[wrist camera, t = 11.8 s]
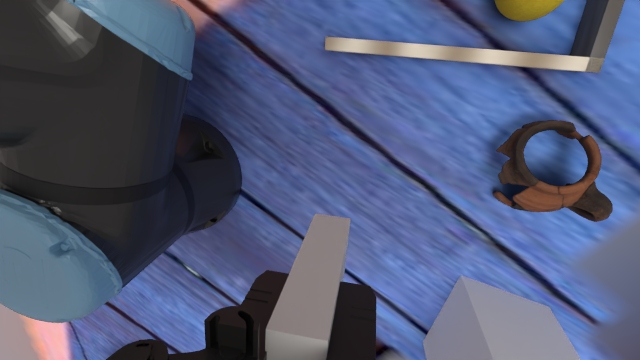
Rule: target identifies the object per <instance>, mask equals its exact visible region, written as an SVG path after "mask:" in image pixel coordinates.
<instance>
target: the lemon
mask: <svg viewBox="0 0 640 360" xmlns="http://www.w3.org/2000/svg"><path fill="white" fill-rule="evenodd" d="M563 1H564V0H495V3H496V7H497V8H498V10H499V11H500V13H502V14H503V15H504V16H505V17H507V18H509V19H511V20H514V21H530V20H535V19H538V18H540V17H543V16H545V15H547V14H548V13H550V12H551V11H553V10H554V9H556V8H557V7H558V6H559V5H560V4H561V3H562V2H563Z"/></svg>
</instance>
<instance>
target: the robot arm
mask: <svg viewBox="0 0 640 360" xmlns="http://www.w3.org/2000/svg"><path fill="white" fill-rule="evenodd" d="M194 43H195V27H194V24H193V21H192V19H191V17H190V16H189V14H188V13H187V12H186V11H185V10H184V9H183V8H182V7H181V6H179V5H178V4H176V3H174V2H172V1H170V0H0V303H1V304H2V305H4V306H6V307H8V308H9V309H11V310H13V311H15V312H17V313H19V314H21V315H24V316H26V317H29V318H32V319H36V320H40V321H45V322H52V323H63V322H69V321H73V320H76V319H81V318H83V317H85V316H87V315H89V314H90V313H92V312H93V311H95V310H96V309H98V308H99V307H100V306H102V305H103V304H105V303H106V302H107V301H109V300H110V299H112V298H114V297H116V296H117V295H118V294H119V293H120V291H121V290H122V288H123V287H124V286H125V285H127V284H128V283H129V282H130V281H131V280H132V279H133V278H135V277H136V276H137V275H138V274H139V273H140V272H141V271H142V270H144V269H145V268H146V267H147V266H148V265H149V264H150V263H152V262H153V261H154V260H155V259H156V258H157V257H158V256H159V255H161V254H162V253H163V252H164V251H165V250H166V249H167V248H168V247H170V246H171V245H172V244H173V243H174V242H175V241H176V240H177V239H179V238H180V237H181V236H182V235H186V234H189V233H192V232H196V231H199V230H203V229H206V228H208V227H210V226H212V225H214V224H216V223H217V222H219V221H220V220H221V219H222V218H223V217H224V216H225V215H226V214H227V213H228V212H229V211H230V210H231V209H232V208H233V206H234V205H235V203H236V202H237V199H238V197H239V194H240V190H241V181H242V178H241V169H240V165H239V161H238V158H237V156H236V154H235V152H234V150H233V148H232V146H231V145H230V143H229V142H228V141H227V139H226V138H225V137H224V136H223V135H222V134H221V133H220V132H219V131H218V130H217V129H216V128H214V127H213V126H212V125H210V124H209V123H207V122H205V121H203V120H201V119H199V118H196V117H193V116H189V115H183V111H184V106H185V101H186V96H187V92H188V87H189V82H190V80H192V78H193V74H192V72H191V68H192V59H193V50H194ZM350 220H351V219H350V218H343V217H336V216H329V215H322V214H315V215H314V217H313V219H312V222H311V224H310V227H309V229H308V231H307V234H306V236H305V238H304V241H303V243H302V245H301V248H300V250H299V252H298V255H297V257H296V259H295V262H294V264H293V266H292V269H291V271H290V273H289V274H287V273H281V272H275V271H269V270H267V271H265V272H264V273H263V274H261V275H260V276H259V277H257V278H256V280H255V281H254V283H253V285H252V287H251V288H250V291H249V292H248V294H247V295H246V297H245V300H244V301H243V302H242V304H241V306H230V307H226V308H221V309H219V310H217V311H215V312H213V313H211V314H210V315H209V316H208V317H207V319H206V320H205V321H204V322H205V341H206V348H205V349H203V350H200V351H195V352H189V353H177V354H168V350H167V347H166V346H165V345H164V344H163V343H162V342H161V341H157V340H153V339H147V340H139V341H136V342H133V343H130V344H127V345H126V346H124V347H122V348H121V349H119V350H118V351H116V352H115V353H114V354H112V355H111V356H110V357H109V358H107V359H106V360H375V356H376V296H375V294H374V293H373V291H372V289H371V287H370V286H365V285H359V284H353V283H347V282H343V278H344V271H345V262H346V254H347V245H348V237H349V228H350Z"/></svg>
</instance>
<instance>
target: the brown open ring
mask: <svg viewBox="0 0 640 360" xmlns="http://www.w3.org/2000/svg"><path fill="white" fill-rule="evenodd" d="M546 130H557V132H558V133H559V134H560V135H563V136H565V137H567V138H570V139H575V138H576V139H577V140H578V141H579V143H580V144H581V145H582V146H583V148H584V150H585V151H586V154H587V158H588V167H587V170H586V172H585V175H584V176H583V177H582V178H581V179H580V180H579V181H578V182H576V183H574V184H566V185H565V186H555V185H550V184H547V183H545V182H542V181H540V180H538V179H537V178H536V177H535V176H534V175H533V174H532V173H531V172H530V171H529V169H528V168H527V166H526V163H525V160H524V153H523V152H524V148H525V145H526V143H527V142H528V140H529V139H530V138H531V137H532V136H533V135H535V134H537V133H539V132H542V131H546ZM496 151H497V152H501V153H503V154H504V155H507V156H508V157H510V160H508V161H507V162H505V164H504V165H503V167H502V171H501V172H500V173H499V180H500V182H501V184H507V183H511V184H518V185H524V186H528V187H527V188H526V189H525V190H523V191H522V192H520V193H517V194H515V195H514V196H513V200H514V202H516V203H513V202H511V201H510V200H509V199H507V198H506V197H505V196H504V195H503V194H502V193H501V192H499V191H498V192H493V195H494V196H495V197H496V198H497V199H498V200H499V201H501V202H502V203H504V204H506V205H508V206H510V207H512V208H514V209H518V210H524V211H531V212H550V211H556V210H560V209H561V208H564V207H566V208H569V209H570V210H572V211H573V212H575V213H577V214H578V215H580V216H582V217H584V218H586V219H588V220H591V221H594V222H597V221H602V220H604V219H607V218H608V217H609V215H610V214H611V213H612V203H611V201H610V200H609V199H608V198H607V197H606V196H605V195H604V194H602V193H601V192H600V191H599V190H598V189H597V188H596V185H595V182H594V180H595V179H596V178H597V176H598V174H599V171H600V167H601V154H600V150H599V147H598V145H597V143H596V142H595V140H594V139H593V138H592V137H591V136H590V135H588V136H585V137H583V136H581V135H580V134H579V133H578V132H577V131H576V128H575V126H574V124H573V123H571V122H566V121H557V120H549V121H538V122H532V123H529V124H526V125H524V126H522V128H521V129H517V130H516V131H515V132H514V133H513V134H512V135H511V136H510V138H509V139H508V140H507V141H506V142H505V143H504V144H503V145H501V146H500V147H499V148H498V149H497V150H496Z"/></svg>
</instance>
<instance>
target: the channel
mask: <svg viewBox="0 0 640 360" xmlns="http://www.w3.org/2000/svg"><path fill="white" fill-rule="evenodd" d="M624 1H625V0H587V3H586V6H585V9H584V12H583V16H582V19H581V22H580V25H579V28H578V31H577V35H576V38H575V41H574V44H573V47H572V51H571V54H570V56H566V55H553V54H541V53H528V52H515V51H502V50H490V49H477V48H464V47H451V46H439V45H426V44H413V43H400V42H388V41H375V40H362V39H349V38H337V37H326V41H325V50H328V51H337V52H349V53H360V54H372V55H384V56H396V57H408V58H420V59H432V60H444V61H456V62H468V63H480V64H492V65H504V66H516V67H528V68H539V69H551V70H563V71H575V72H595V73H600V70H601V67H602V64H603V62H604V59H605V56H606V53H607V50H608V47H609V44H610V42H611V39H612V36H613V33H614V30H615V27H616V24H617V21H618V19H619V16H620V13H621V10H622V7H623V4H624Z"/></svg>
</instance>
